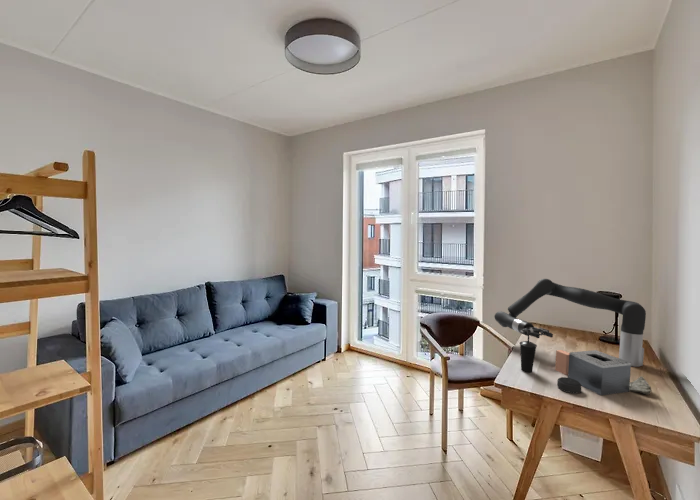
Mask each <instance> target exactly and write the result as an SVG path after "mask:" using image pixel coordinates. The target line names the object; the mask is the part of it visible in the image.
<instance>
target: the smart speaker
mask: <svg viewBox="0 0 700 500" xmlns="http://www.w3.org/2000/svg"><path fill="white" fill-rule="evenodd" d="M556 383H557V384H556V385H557V388H558V389H560V390H561V391H563V392H565V393H569V394H579V393H582V386H581V383H580V382H578V381H577V380H574V379H571V378H568V377H565V376H564V377H562V376H561V377H559V378H558V379H557V381H556Z"/></svg>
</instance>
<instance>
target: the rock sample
mask: <svg viewBox="0 0 700 500" xmlns="http://www.w3.org/2000/svg"><path fill="white" fill-rule="evenodd" d="M629 392H633V393H640V394H641V395H642V394H643V395H647V396H648V395H650V394H651V392H652V387H651V385H650V383H648V380H646V378H645V377H644V376H638V378H637V379H635V380H633V381H632V382H631V381H630V385H629Z"/></svg>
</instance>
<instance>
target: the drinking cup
mask: <svg viewBox="0 0 700 500" xmlns="http://www.w3.org/2000/svg"><path fill="white" fill-rule="evenodd" d="M529 334H530V332H529V331H528V336H527V340H523V341H520V342H519V349H520V351H519V352H520V370H521V371H522V372H523V373H526V374H527V373H528V374H531V373H533V369H534V363H535V358H536V357H535V355H536V350H537V347H538V345H537V344H536V343H534V342H532V341H530V335H529Z"/></svg>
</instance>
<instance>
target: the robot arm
mask: <svg viewBox="0 0 700 500" xmlns="http://www.w3.org/2000/svg"><path fill="white" fill-rule="evenodd" d="M544 296H551V297H557V298H561V299H564V300H566V301H569V302H572V303H575V304H577V305H579V306H580V305H581V306H583V307H586V308H587V307H588V308H590V309H591V308H592V309H598V310H607V311H611V312H614V313H616V314H620V315H622V319H621V320H622V321H621V326H620V338H619V350H618V358H619V359H622V360H625V361H627V362H630V363H631V367H635V368H637V367H641V366H642V367H643V366H644V356H645V348H644V347H643V343H644V331H645V327H646V317H647V315H646V314H647V313H646V312H647V311H646V309H645V307H643V306H642V305H641V304H640V303H638V302H636V301H631V300H625V299H620V298H615V297H612V296H608V295H607V294H606V295H605V294H603V293H599V292H595V291H593V290H590V289H585V288H580V287H574V286H565V285H561V284H558V283H555V282H553V281H552V280H551V279H549V278H541V279H539V280H538V281H537V282H536V284H535V285H534V286H533V287H532V288H531V289H530V290H529V291H528V292H527V293H526V294H524V295H523V296H522V297H520V298H519V299H517V300H516V301H514V303H512V304H510V305H509V306H508V308H507V311H508V312H505V311H502V310H500V311H497V312H496V313H494V316H493V317H494V321H496V322H497V323H498V324H499V325H500V326H501V327H502V328H508V329H511V330H513V331H515V332H516V333H519V334H521V335H524V336H526V337H528V331H529V332H530V334H529V337H533V338H536V339H540V336H546V337H549V338H551V339H552V338H553V335H554V334H553V332H550V330H549V329H546V328H543V327H535V326H534V324H533V323H532V322H530V321H526V320H523V319H521V318H517V317H518V316H520V315H521V314H522V313H523V312H525V311H527V309H528V308H529V307H530V306H532V305H533V304H534V303H535V302H536V301H538V300H539V299H540V298H543V297H544Z"/></svg>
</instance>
